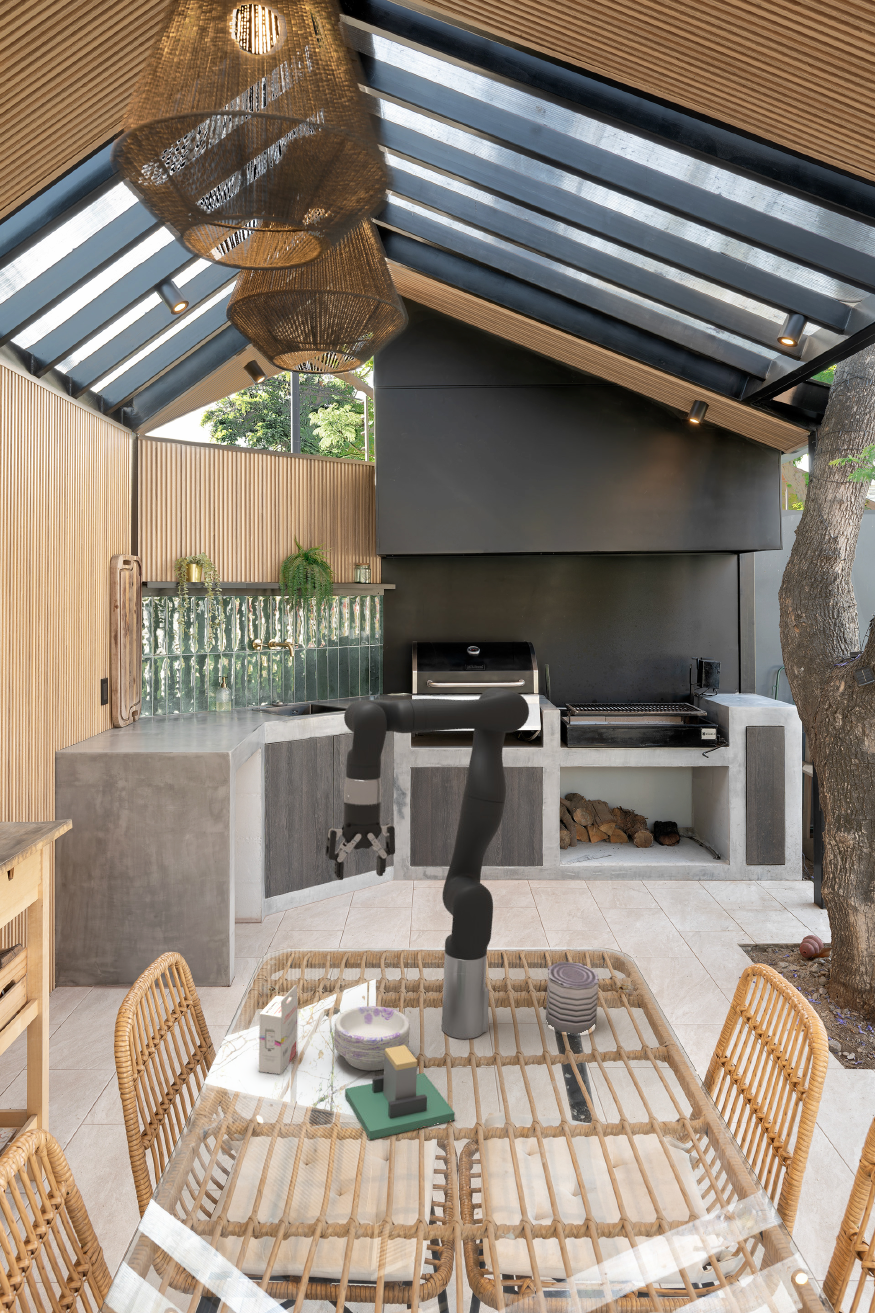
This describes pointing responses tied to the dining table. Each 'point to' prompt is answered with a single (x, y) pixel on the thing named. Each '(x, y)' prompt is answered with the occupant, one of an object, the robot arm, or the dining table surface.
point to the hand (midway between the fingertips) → (359, 877)
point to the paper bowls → (369, 1035)
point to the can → (571, 997)
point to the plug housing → (399, 1073)
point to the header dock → (397, 1108)
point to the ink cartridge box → (278, 1033)
